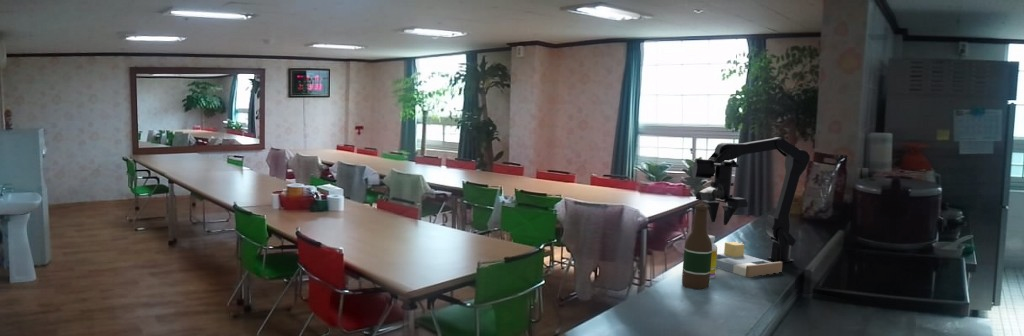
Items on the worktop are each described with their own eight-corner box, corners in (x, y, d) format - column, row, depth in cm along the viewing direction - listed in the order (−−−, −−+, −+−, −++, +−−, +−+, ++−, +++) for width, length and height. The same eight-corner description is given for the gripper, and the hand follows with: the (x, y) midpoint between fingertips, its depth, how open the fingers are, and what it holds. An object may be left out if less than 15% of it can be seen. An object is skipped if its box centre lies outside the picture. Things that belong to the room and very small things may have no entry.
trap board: (735, 259, 231) (736, 249, 231) (781, 272, 215) (782, 262, 214) (702, 262, 223) (703, 252, 223) (748, 277, 207) (749, 266, 206)
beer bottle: (709, 284, 196) (716, 204, 194) (708, 291, 189) (715, 208, 186) (682, 281, 199) (688, 202, 196) (680, 287, 191) (686, 205, 189)
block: (733, 253, 229) (734, 241, 229) (743, 256, 225) (744, 244, 225) (724, 254, 227) (725, 242, 226) (734, 257, 223) (735, 245, 222)
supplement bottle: (712, 274, 208) (716, 234, 207) (717, 280, 202) (720, 238, 200) (691, 272, 209) (694, 233, 207) (694, 278, 202) (698, 237, 201)
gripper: (686, 176, 234) (682, 219, 235) (727, 183, 218) (723, 230, 219) (708, 175, 239) (705, 218, 241) (750, 182, 223) (746, 228, 225)
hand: (719, 223), depth 231 cm, fingers open, 5 cm apart
